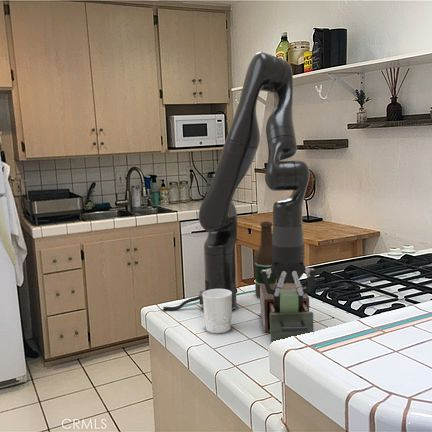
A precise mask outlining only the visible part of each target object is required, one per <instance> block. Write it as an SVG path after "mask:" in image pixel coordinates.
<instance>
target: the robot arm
mask: <svg viewBox="0 0 432 432" xmlns="http://www.w3.org/2000/svg"><path fill="white" fill-rule="evenodd" d="M243 81H244V82H243V85H242V89H241V92H240V96H239V97H240V98H239V100H238V104H237V106H236V107H237V108H236V110H235V113H234V115H233V119H232V121H231V122H232V123H231V124H230V128H229V130H228V132H227V135H226V138H225V141H224V144H223V147H222V151H221V154H220V156H219V160H218V162H217V166H216V168H215V171H214V175H213V178H212V180H211V183H210V185H209V188H208V190H207V192H206V195H205V197H204V199H203V201H202V203H201V205H200V207H199V211H198V221H199V224H200V226H201V228H202V229H203V230H204V231H206V232H208V233H207V238H206V240H205V241H204V243H203V256H204V259H203V260H204V290H199V294H198V295H199V296H195V297H191V298H189V299H186V300H184V301H182V302H181V303H180V304H179V305H177V306H163V307H162V309H163V311H176V310H177V311H178V310H180V309H182V308H183V307H184V306H185V305H187V304H189V303H191V302H196V301H199V305H200V306H203V295H202V293H203V292H204V291H207V290H210V289H226V290H229V291H231V292H232V311H235V310H236V309H237V308H238V303H237V301H238V300H237V294H238V288H237V274H236V270H237V269H236V245H237V240H238V213H237V208H236V206H235V204H234V202H233V201H232V200H233V197H234V195H235V192H236V190H237V188H238V187H239V185H240V183H241V182H242V180H243V179H244V177H245V176H246V175H247V173H248V171H249V170H250V168H251V166H252V164H253V162H254V160H255V158H256V154H257V152H258V149H259V146H260V143H261V134H260V128H259V122H258V121H259V120H258V117H257V103H258V98H259V95H260V91H263V92H267V93H269V94H273V97H274V100H275V106H274V108H273V110H272V112H271V113H270V115H269V117H268V118H267V121H266V126H265V134H266V141H267V151H268V153H267V154H268V155H267V156H268V157H267V164H266V168H265V175H264V181H265V184H266V186H267V188H268V189H269V190H271V191H274V192H276V191H277V192H278V191H279V192H282V191H292V192H291V194H290V196H288V197H286V198H283V199H279V200H277V201H275V202H274V203H273V205H272V247H273V264H272V266H271V268H270V269H266V270H264V269H262V270H261V275H262V278H263V281H264V284H265V287H266V290H267V293H268V294H272V295H273V296H274V307H275V308H277V310H280V296H279V294H280V290H281V288H282V285H283V284H286V283H295V286H296V289H297V293H298V310H300V308H302V307H303V295H304V294H306V293H307V294H310V293H311V291H312V289H313V285H314V282H315V279H316V276H317V271H316V269H315V268H313V267H306V266H305V262H304V230H303V206H304V200H305V196H306V192H307V188H308V184H309V182H310V178H311V177H310V176H311V175H310V174H311V172H310V169H309V166H308V165H307V163H306V162H305V161H303V160H288V159H290V158H292V157H293V156H295V155H296V154H297V152H298V143H297V139H296V133H295V126H294V118H293V102H294V101H293V99H294V98H293V97H294V88H293V87H294V76H293V69H292V65H291V64H290V62H289V61H287V60H285V59H283V58H281V57H278V56H275V55H272V54H269V53H266V52H263V51H259V52H256V54H255V55H254V56H253V57H252V59H251V60H250V63H249V65H248V67H247V70H246V74H245V77H244V80H243ZM271 273H273V274H274V276H275V277H276V278H277V279H276V283H275V287H274V289H273V288H271V287H270V284H269V281H268V278H270V274H271ZM304 273H305V276H306V280H305V284H304V286H302V287H303V288H302V287H301V285H302V283H301V281H300V279H301V278H302V276H303V275H304ZM300 283H301V284H300Z"/></svg>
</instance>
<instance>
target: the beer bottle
mask: <svg viewBox="0 0 432 432" xmlns="http://www.w3.org/2000/svg"><path fill="white" fill-rule="evenodd" d="M272 232H273V222H272V221H263V222H260V242H259V244H260V245H259V247H258V249H257V251H256V253H255V256H254V288H255V295H256V296H257V297H258V298H259V299H260V284H264V281H263V278H262V275H261V270H262V269H264V270H266V269H270V268H271V266H272V264H273V247H272ZM276 279H277V278H276V277H275V276H274V274H273V273H271V274H270V278H268V281H269V284H275V283H276Z"/></svg>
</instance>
